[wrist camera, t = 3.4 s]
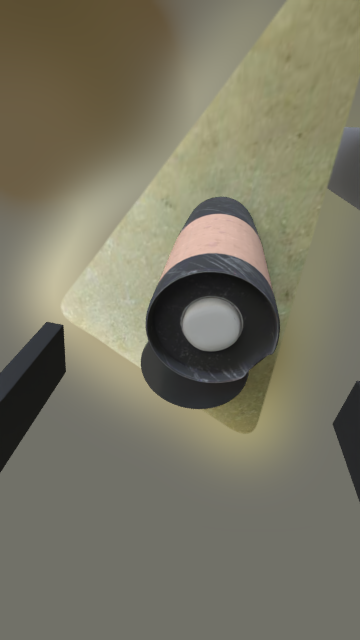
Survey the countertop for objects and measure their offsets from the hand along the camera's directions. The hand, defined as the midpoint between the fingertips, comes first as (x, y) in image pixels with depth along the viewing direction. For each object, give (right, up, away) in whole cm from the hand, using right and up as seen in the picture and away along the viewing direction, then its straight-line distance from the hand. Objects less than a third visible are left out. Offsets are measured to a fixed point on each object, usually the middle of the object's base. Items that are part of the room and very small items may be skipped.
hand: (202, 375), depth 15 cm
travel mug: (+3, +12, +20) cm, 24 cm away
